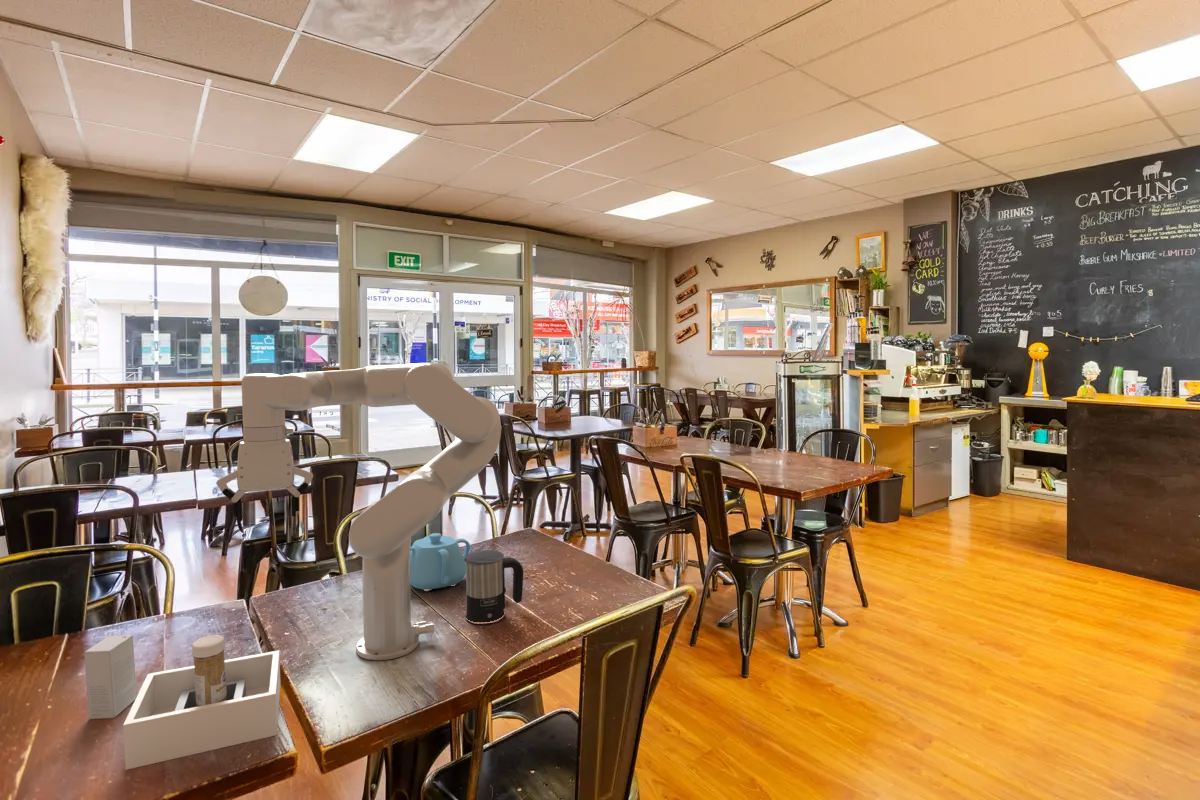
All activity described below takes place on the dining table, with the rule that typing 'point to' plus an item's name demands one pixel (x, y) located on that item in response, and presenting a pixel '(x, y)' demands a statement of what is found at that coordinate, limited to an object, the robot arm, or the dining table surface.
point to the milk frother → (490, 584)
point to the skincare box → (110, 676)
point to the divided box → (202, 711)
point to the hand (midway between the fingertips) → (267, 517)
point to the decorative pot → (437, 562)
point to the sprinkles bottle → (209, 670)
